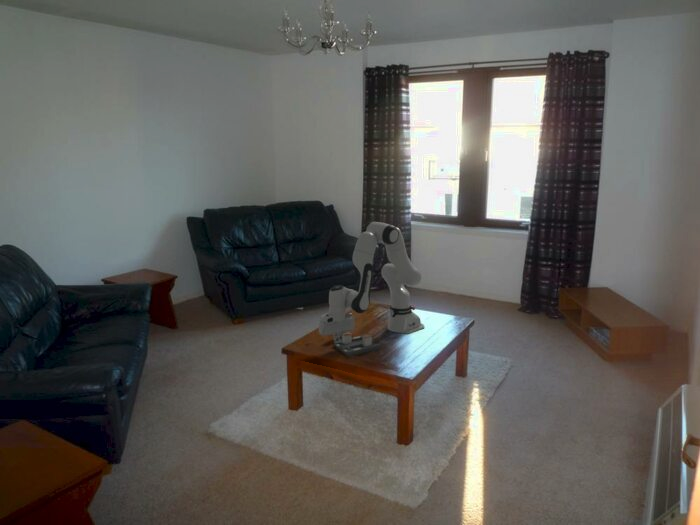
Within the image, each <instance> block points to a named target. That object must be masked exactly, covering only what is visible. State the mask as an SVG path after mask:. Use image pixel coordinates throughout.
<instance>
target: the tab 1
mask: <svg viewBox="0 0 700 525" xmlns="http://www.w3.org/2000/svg"><path fill="white" fill-rule="evenodd" d="M352 338H353V337H352V333H351V332H350V331H347V333H343V334H342V343H344V344H348V343H352Z"/></svg>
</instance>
